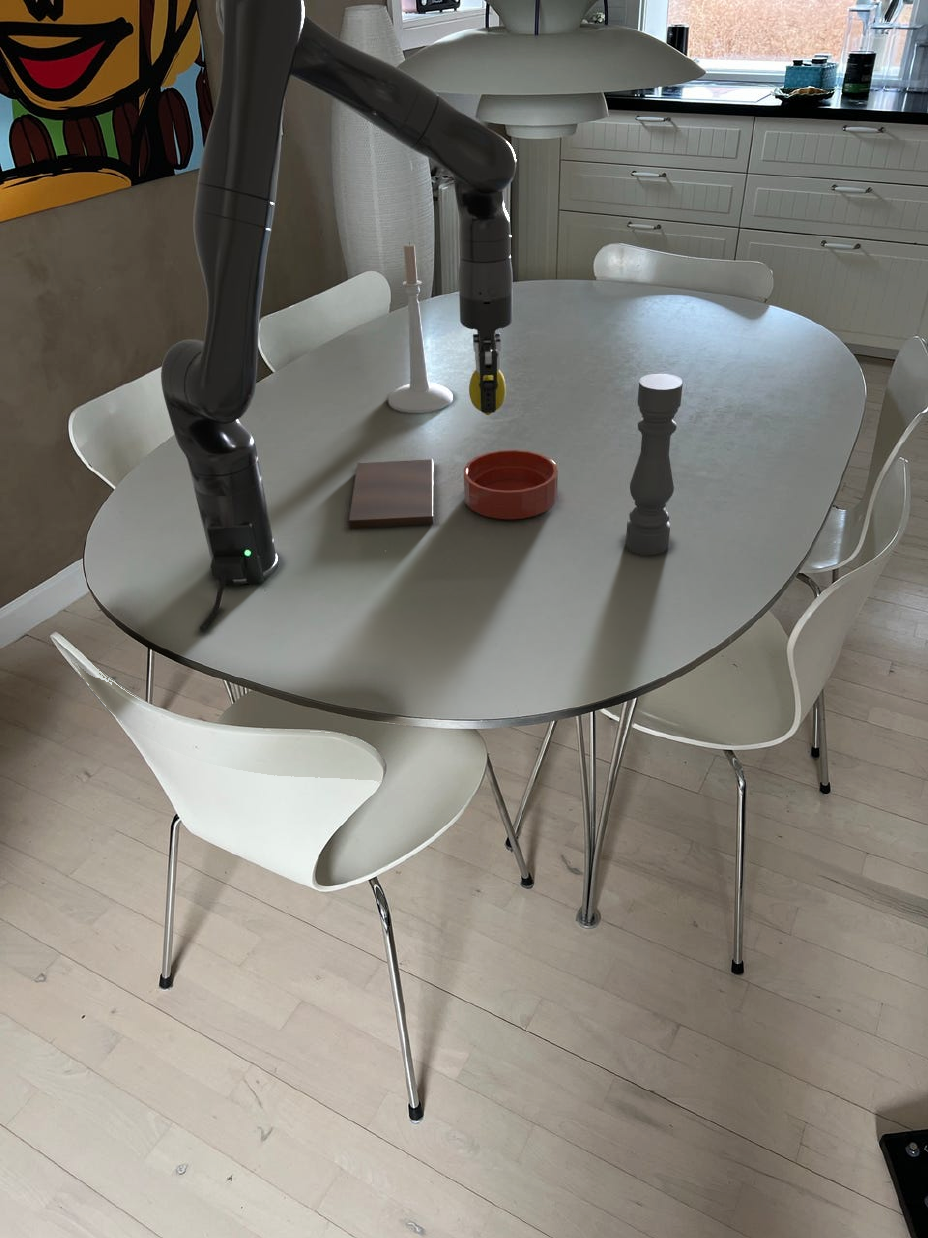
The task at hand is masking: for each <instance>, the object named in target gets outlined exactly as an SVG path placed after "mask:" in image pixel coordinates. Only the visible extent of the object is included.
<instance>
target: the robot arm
mask: <svg viewBox="0 0 928 1238" xmlns="http://www.w3.org/2000/svg"><path fill="white" fill-rule="evenodd" d="M215 15H216V16H215V17H216V22H217V24H218V25H217V26H218V29H219V30H220V33H221V34H222V37H223V38H222V55H221V56H222V57H221V60H222V61H221V73H220V83H219V90H218V95H217V99H216V103H215V107H214V111H213V114H212V118H211V121H210V125H209V128H208V132H207V134H206V139H205V142H204V146H203V151H202V156H201V159H200V165H199V170H198V176H197V184H196V192H195V199H194V208H193V217H192V218H193V219H192V230H193V240H194V245H195V249H196V253H197V259H198V262H199V266H200V270H201V274H202V278H203V282H204V287H205V291H206V301H207V302H206V303H207V304H206V305H207V307H206V308H207V309H206V311H207V312H206V324H205V330H204V339H199V338H186V339H183V340H180V341H177V342H176V343H174V344H173V345H172V346H171V347H169V349H168V350H167V351H166V354H165V355H164V358H163V361H162V363H161V368H160V369H161V370H160V383H161V390H162V395H163V399H164V402H165V405H166V409H167V414H168V417H169V419H170V424H171V427H172V431H173V433H174V437H175V440H176V442H177V445H178V446H179V448H180V450H181V451H182V452H183V454H184V456H185V458H186V461H187V464H188V469H189V472H190V476H191V480H192V485H193V490H194V494H195V499H196V502H197V507H198V510H199V515H200V520H201V524H202V529H203V532H204V537H205V541H206V545H207V550H208V553H209V557H210V562H211V563H210V571H211V574H212V579H213V580H214V581H216V580H217V581H218V589H217V593H216V597H215V602H214V604H213V605H214V606H213V608H212V610H211V612H210V614H209V615H208V617H206V619H205V620H204V621H203V622H202V624H201V625H200V626H199V631H201V632H204V631H205V630H206V629H207V628H208V626H210V624H211V623H212V622H213V620H214V619H215V618H216V616H217V614H218V612H219V609H220V606H221V603H222V598H223V594H224V590H225V587H226V586H234V585H235V586H237V585H238V586H239V585H255V584H256V585H257V584H262V583H263V582H264V580H265V579H266V578H268V577H270V576H271V575H272V574H274V573H275V572H276V570H277V569H278V566H279V560H278V555H277V552H276V547H275V541H274V536H273V531H272V525H271V519H270V515H269V510H268V505H267V499H266V494H265V488H264V484H263V477H262V472H261V467H260V461H259V456H258V450H257V445H256V441H255V439H254V437H253V435H252V434H251V433H250V431H248V430H247V428H246V427H245V426H243V424H242V423H241V422H240V421H239V419H241V418H242V417H243V416H244V415H245V414H246V412H247V411H248V410H249V408H250V406H251V404H252V401H253V398H254V396H255V392H256V385H257V377H258V359H259V358H258V357H259V355H258V354H259V335H260V332H259V331H260V318H261V317H260V316H261V306H262V305H261V304H262V298H263V290H264V282H265V273H266V266H267V265H266V264H267V256H268V251H269V244H270V239H271V235H272V227H273V223H274V215H275V208H276V204H275V203H277V201H276V200H277V191H278V182H279V173H280V163H281V162H280V159H281V149H282V136H283V135H282V132H283V117H284V108H285V103H286V98H287V91H288V87H289V83H290V79H291V77H292V78H294V79H296V80H298V81H300V82H302V83H304V84H306V85H308V86H310V87H312V88H314V89H316V90H318V91H319V92H321V93H322V94H325V95H327V96H329V97H330V98H331V99H333V100H335V101H337V102H338V103H340V104H341V105H343V106H345V107H346V108H348V109H349V110H351V111H353V112H354V113H356V114H357V115H358V116H360V117H361V118H363V119H365V120H366V121H367V122H369V123H371V124H372V125H374V126H375V127H377V128H378V129H380V130H381V131H383V132H385V133H386V134H388V135H389V136H391V137H392V138H393V139H395V140H397V141H398V142H400V143H401V144H403V145H405V146H406V147H407V148H409V149H411V150H413V151H415V152H416V153H418V154H420V155H422V156H424V157H426V158H428V159H430V160H432V161H433V162H435V163H437V165H439V166H440V167H442V168H443V169H445V171H447V172H449V173H450V174H451V175H452V179H453V186H454V193H455V200H456V207H457V211H458V220H459V230H458V231H459V232H458V234H459V235H458V236H459V237H458V238H459V240H458V241H459V242H458V244H459V267H458V294H459V321H460V324H461V325H462V326H463V327H464V328H467V329H468V330H469V329H470V330H476V333H473V334H472V343H473V344H472V346H473V348H472V349H473V352H474V360H475V370H476V371H477V372H478V373H479V376H480V383H479V387H480V389H481V411H480V412H481V413H483V414H485V413H491V414H493V413H495V412H496V411H497V410H496V389H497V386H498V383H497V372H498V371H499V370H500V351H501V349H502V341H501V340H502V339H501V334H500V332H496V331H497V330H500V329H504V328H506V327H509V326H510V325H511V324H512V322H513V318H514V317H513V311H514V310H513V309H514V307H513V301H514V300H513V299H514V298H513V297H514V295H513V294H514V293H513V292H514V289H513V285H514V284H513V283H514V282H513V281H514V280H513V277H514V276H513V266H512V265H513V264H512V256H511V254H512V241H511V240H512V235H511V234H512V232H511V220H510V216H509V214H508V212H507V210H506V208H505V203H504V200H505V199H504V198H505V197H504V190H505V189H507V187H509V185H510V184H511V183H512V182H513V180H514V178H515V175H516V171H517V159H516V154H515V151H514V149H513V147H512V145H511V144H510V142H508V140H507V139H505V138H504V137H503V136H501V135H500V134H498V133H497V132H495V131H494V130H492V129H490V128H489V127H486V126H485V125H484V124H482V123H480V122H479V121H477V120H476V119H474V118H472V117H470V116H468V115H467V114H465V113H463V112H461V110H459V109H457V108H456V107H455V106H454V105H452V104H451V103H450V102H449V101H447V99H445V98H444V97H443V96H441V95H440V94H439V93H437V92H436V91H434V90H433V89H431V88H430V87H428V86H427V85H425V84H424V83H423V82H421V81H420V80H419V79H417V78H415V77H413V76H412V75H411V74H409V73H408V72H405V70H402V69H400V68H399V67H397V66H395V65H393V64H391V63H389V62H387V61H384V60H382V59H381V58H378V57H376V56H374V55H371V54H369V53H367V52H365V51H362V50H360V49H358V48H356V47H354V46H353V45H350V44H348V43H346V42H345V41H343V40H342V39H340V38H338V37H336V36H335V35H334V34H331V33H330V32H329V31H327V30H326V29H324V28H323V27H321V26H320V25H319V24H317V23H316V22H315V21H314V20H313V19H311V17H310V16H308V15H307V14H306V13H305V4H304V0H216V1H215ZM485 375H493V380H483V377H484V376H485Z"/></svg>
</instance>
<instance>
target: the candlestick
mask: <svg viewBox="0 0 928 1238" xmlns="http://www.w3.org/2000/svg"><path fill="white" fill-rule="evenodd" d="M403 254H404V264H405V266H404V268H405V280H404V281H402V285H403V286H404V287H405V294H407V297H408V302H407V305H408V306H407V307H408V340H409V341H408V343H409V344H408V345H409V379H410V380H409V383H408V384H404V385H402V386H399V387H397V388H396V389H394V391H392V393H390V395H389V396H388V398H387V399H388V400H387V401H388V405H389V406H390V408H392V409H393V410H396V411H398V412H401V413H410V414H424V413H431V412H435V411H439V410H442V409H444V408H446V407H448V406H449V405H450V404H452V402H453V400H454V399H453V398H454V396H453V392H452V391H450V390H449V388H447V387H445V386H443V385H441V384H438V383H435V382H430V381H429V375H428V368H427V359H426V352H425V344H424V334H423V327H422V317H421V310H420V309H421V308H420V302H419V300H418V296H419V294H420V292H421V289H420V286H421V284H422V283H423V282H422V280H418V271H417V259H416V246H415V243H410V242H408V243H406V244H403Z"/></svg>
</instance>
